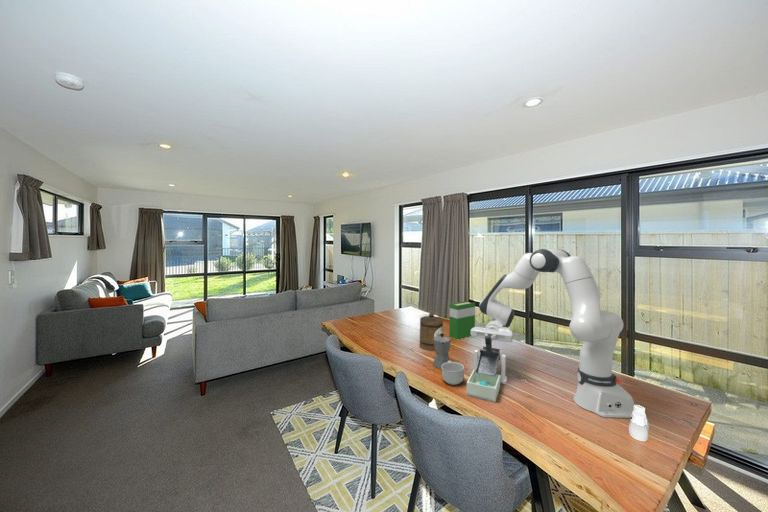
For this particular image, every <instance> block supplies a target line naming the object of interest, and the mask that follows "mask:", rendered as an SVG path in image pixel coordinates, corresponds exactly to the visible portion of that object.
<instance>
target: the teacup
mask: <svg viewBox="0 0 768 512" xmlns="http://www.w3.org/2000/svg"><path fill="white" fill-rule="evenodd" d="M441 368H442V369H441V375H442V376H441V377H442V379H443V381H444V382H445V383H447V384H448V385H451V386H455V385H456V386H457V385H460V384H461V383H462V382H463V381H464V377H465V366H464V364H462V363H460V362H456V361H452V360H450V361H448V362H446V363H444V364H442V366H441Z"/></svg>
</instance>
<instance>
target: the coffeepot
mask: <svg viewBox="0 0 768 512" xmlns="http://www.w3.org/2000/svg"><path fill="white" fill-rule="evenodd" d="M451 339H452V338H451V337H449V336H448V337H447V336H444V333H443V334H440V335H439V336H438V337H435V338H434V346H435V350H434V351H435V354H434V360H433V367H435V368H436V369H438V370H439V369H440V370H442V368H441V366H442V364H444V363H446V362H448V361H451V360H450V355H449V351H450V346H451Z"/></svg>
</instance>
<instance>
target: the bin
mask: <svg viewBox="0 0 768 512" xmlns="http://www.w3.org/2000/svg"><path fill="white" fill-rule="evenodd" d="M500 375H501V374H498V375H497V373H496V377H494V376H489V375H485V374H480V373H476V370H474V369H473V370H472V372H471V373H470V376H468V377H469V378H468V379H467V381H466V396H468V397H472V398H476V399H480V400H484V401H487V402H492V403H497V399H498V395H499V392H500V389H501V383H500ZM482 381H484V382H486V383H487V384H488V386H484V385H480V384H479V383H480V382H482Z"/></svg>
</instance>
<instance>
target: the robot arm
mask: <svg viewBox="0 0 768 512" xmlns="http://www.w3.org/2000/svg"><path fill="white" fill-rule="evenodd" d="M540 273H558V274H559V275H560V276H561V278H562V280H563V283H564V286H565V289H566V292H567V295H568V297H569V300H570V305H571V306H570V307H571V320H570V323H569V324H568V325H569V331H570V334H571V335H572V337H573V338H575V339H576V340H578V341H579V342H583V344H582V346H581V347H580V349H579V360H578V361H579V362H578V365H579V366H578V369H577V374H576V375H577V376H576V377H577V378H576V379H577V387H576V390H575V393H574V396H573V401H574V403H575V404H577V405H578V406H579V407H581V408H582V409H585V410H587V411H589V412H592V413H595V414H596V415H598V416H600V417H602V418H618V419H619V418H620V419H621V418H622V419H632V418H631V414H632V411H633V406H634V405H635V402H634V398H633V397H632V395H631V394H630V393H629V392H628V391H627V390H625V389H624V387H622V386H621V385H622V384H623V383H624V382H623V379H622V378H620V377H618V376H617V375H615V374H614V373H613V358H614V352H615V349H616V346H617V343H618V339H619V336H620V333H621V332H622V331H623V329H624V321H623V319H622V317H621V316H620V315H619V314H618V313H615V312H614V311H607V310H601V308H600V300H601V296H602V295H601V292H600V290H599V287H598V285H597V282H596V280H595V278H594V276H593V273H592V270H591V269H590V267H589V265H588V264H587V262H586V261H585V260H584V258H583V257H581V256H578V255H571V254H570V253H569V252H567V251H566V250H563V249H556V248H541V249H537V250H535V251H534V252H526V253H524V254H523V255H522V256H521V257H520V258H519V260H518V262H517V263H516V264H515V267H514V269H513V270H512V271H511V272H509V273H507V274H504V275H502V276H501V277H500V278H499V279H498V280H497V282H495V284H494V286H493V287H492V288H491V289H490V290H489V292H488V294H487V295H485V297H484V298H482V299H481V301H480V302H479V305H478V307H479V310H480V313H482V314H484V315H486V316H488V317H490V318H491V319H490V320H489V321H488V322H487V324H486V325H485V327H482V326H475V327H474V328H472V329H471V337H474V338H479V339H485V336H491V338H492V341H498V342H506V343H512V342H513V337H514V335H513V331H512V328H511V327H510V326H511V324H512V323H513V320H514V317H515V310H514V309H513V308H512V307H510V306H509V305H507V304H504V303H503V302H500V301H498V300H497V299H496V297H497V295H498V294H499V293H500V292H501V291H502V290H503V289H513V290H525V289H529V288H531V286H532V285H533V284H534V283H535V281H536V279H537V277H538V275H539V274H540Z"/></svg>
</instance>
